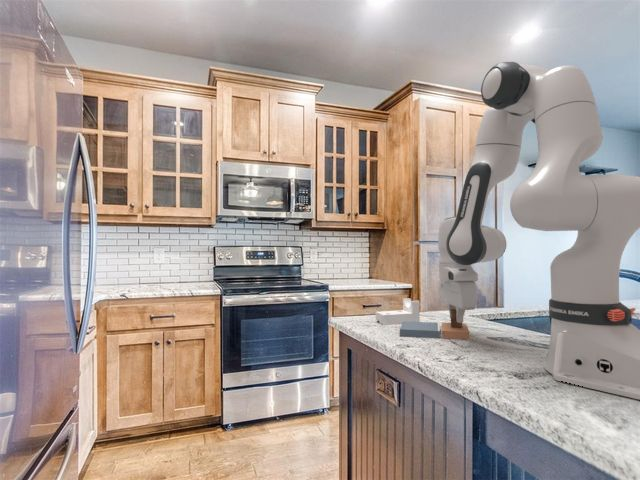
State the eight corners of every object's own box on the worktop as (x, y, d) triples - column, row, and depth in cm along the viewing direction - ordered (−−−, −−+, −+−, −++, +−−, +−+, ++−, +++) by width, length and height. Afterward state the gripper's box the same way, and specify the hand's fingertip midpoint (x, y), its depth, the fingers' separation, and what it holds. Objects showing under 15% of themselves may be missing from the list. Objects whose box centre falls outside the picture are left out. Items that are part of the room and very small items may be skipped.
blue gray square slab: (399, 336, 108) (399, 328, 108) (403, 327, 120) (403, 321, 120) (440, 338, 105) (440, 330, 105) (439, 329, 117) (439, 322, 117)
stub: (442, 338, 105) (441, 312, 105) (441, 329, 116) (441, 306, 117) (469, 339, 103) (468, 313, 103) (466, 330, 114) (465, 306, 115)
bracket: (410, 319, 134) (409, 298, 135) (419, 323, 127) (419, 300, 128) (375, 322, 131) (375, 300, 132) (383, 326, 124) (383, 302, 125)
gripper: (433, 270, 120) (434, 314, 120) (456, 275, 100) (458, 328, 100) (453, 270, 120) (454, 314, 120) (480, 274, 100) (482, 327, 100)
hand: (456, 320), depth 110 cm, fingers closed on stub, 3 cm apart
